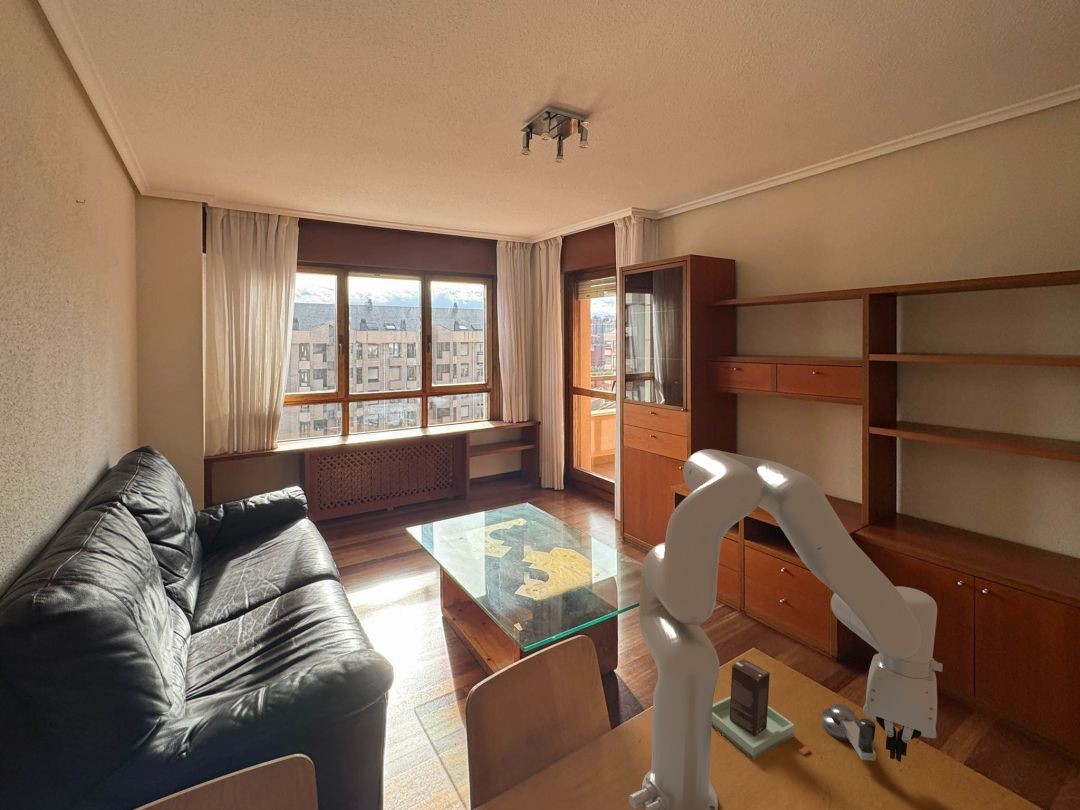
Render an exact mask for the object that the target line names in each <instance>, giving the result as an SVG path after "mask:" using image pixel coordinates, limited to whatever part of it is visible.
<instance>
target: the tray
mask: <svg viewBox="0 0 1080 810" xmlns="http://www.w3.org/2000/svg"><path fill="white" fill-rule="evenodd" d="M730 700H731V695H729V696H727V697H725V698H723V699H720V700H719V701H717V702H715V703H714V702H713V706H712V727H713V728H714V729H716V731H717V732H718V733H720V734H721V735H723V736H724V737H725V738H726V739H727V740H729V741H730V742H731V743H732V744H733V745H734V746H735V747H737V748H738V750H740V751H741V752H743V753H744V754H745V755H746V756H748V757H749V759H751V760H752V761H754V760H755V759H757V758H758V757H761V756H762V755H764V754H766V753H767V752H770V751H771V750H773V749H774V748H776V747H778V746H779V745H781V744H782V743H783V744H784V742H786V741H788V740H790V739H792V738H793V737H794V736H795V724H794V723H793V722H792V721H790V720H789V719H788V718H786V717H785V716H783V715H782V714H780V713H779V712H778V711H776V710H775V709H773V708H772V707H770V706H769V705H768V711H767V728H766V729H765V730H763V731H762V732H761V733H760V734H758V735H757V736H753V735H752V734H751V733H749V732H748V731H746V730H745V729H743V728H742V727H740V726H739V725H737V724H736V723H734V722H733V721H731V720H730Z"/></svg>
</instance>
